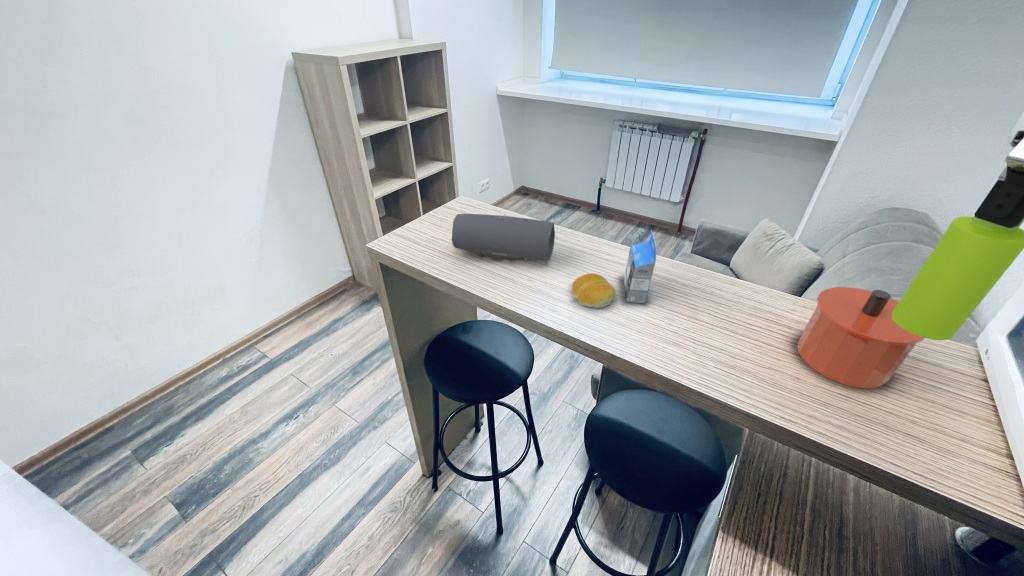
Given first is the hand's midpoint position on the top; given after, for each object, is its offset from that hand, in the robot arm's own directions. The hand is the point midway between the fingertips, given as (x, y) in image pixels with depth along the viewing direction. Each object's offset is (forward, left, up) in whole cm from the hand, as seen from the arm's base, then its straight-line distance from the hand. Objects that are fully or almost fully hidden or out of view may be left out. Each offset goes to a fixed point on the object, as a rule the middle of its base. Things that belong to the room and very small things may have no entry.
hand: (1005, 217), depth 41 cm
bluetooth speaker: (+63, +31, -31) cm, 77 cm away
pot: (+8, -8, -31) cm, 33 cm away
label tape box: (+38, +11, -31) cm, 51 cm away
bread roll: (+40, +20, -31) cm, 55 cm away
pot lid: (+8, -8, -21) cm, 24 cm away
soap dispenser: (0, 0, -15) cm, 15 cm away
